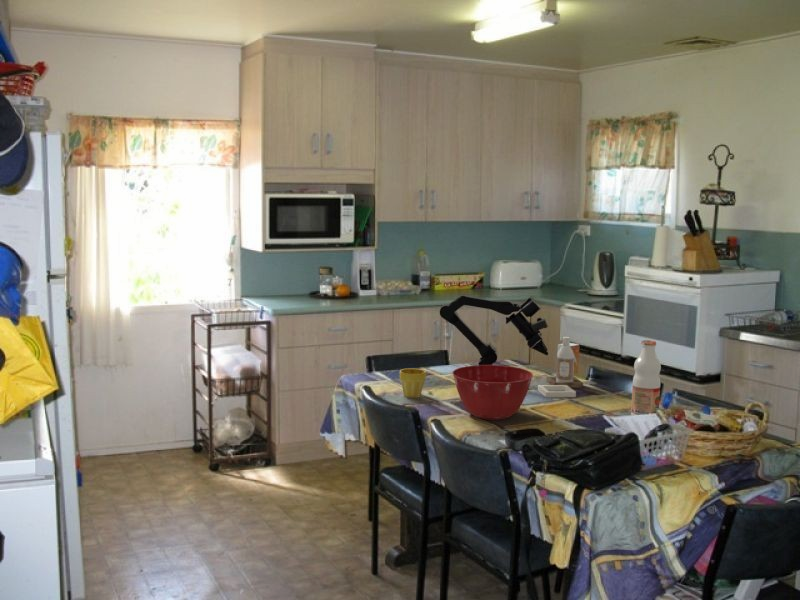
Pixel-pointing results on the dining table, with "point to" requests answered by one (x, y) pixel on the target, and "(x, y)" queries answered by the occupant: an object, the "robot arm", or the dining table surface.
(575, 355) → the small box
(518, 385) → the mixing bowl
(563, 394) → the white square tray
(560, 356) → the bath foam
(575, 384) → the walnut collar
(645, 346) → the fruit juice
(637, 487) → the dining table surface
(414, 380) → the plant pot
